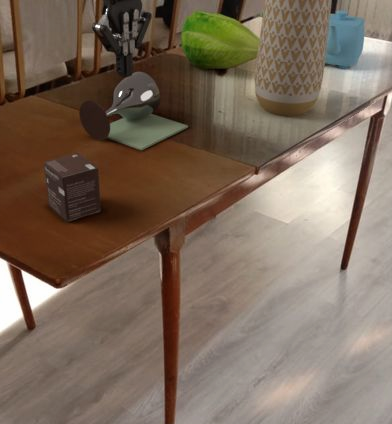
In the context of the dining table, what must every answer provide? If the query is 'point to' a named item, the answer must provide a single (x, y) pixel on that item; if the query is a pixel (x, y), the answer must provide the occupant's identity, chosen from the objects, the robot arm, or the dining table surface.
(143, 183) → the dining table surface
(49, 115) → the dining table surface
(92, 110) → the wine glass
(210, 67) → the lettuce
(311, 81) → the vase
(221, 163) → the dining table surface
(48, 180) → the box
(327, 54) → the teapot
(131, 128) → the mat
